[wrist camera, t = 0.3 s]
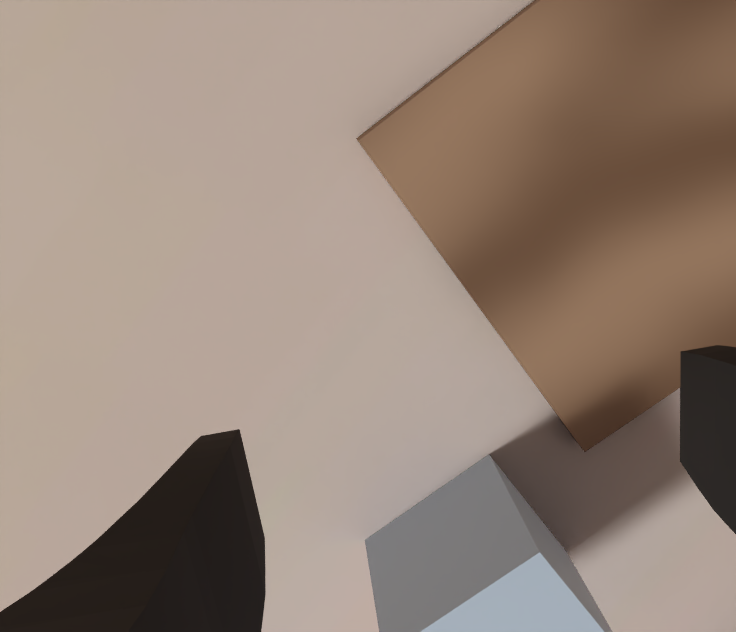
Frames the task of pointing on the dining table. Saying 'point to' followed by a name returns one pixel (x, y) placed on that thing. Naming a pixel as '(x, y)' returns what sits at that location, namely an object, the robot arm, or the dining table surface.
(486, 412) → the dining table surface
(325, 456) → the dining table surface
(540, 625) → the blue cube
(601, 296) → the walnut board
